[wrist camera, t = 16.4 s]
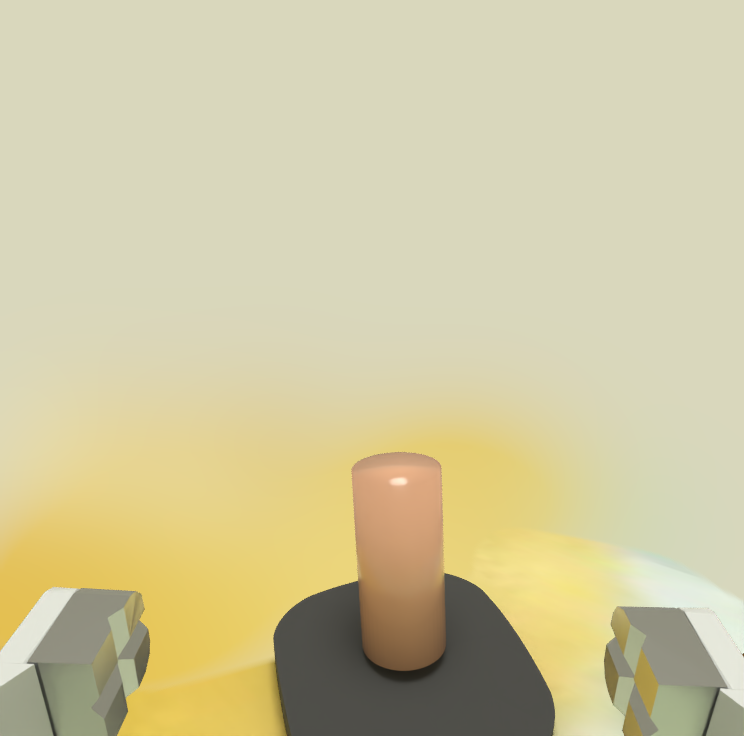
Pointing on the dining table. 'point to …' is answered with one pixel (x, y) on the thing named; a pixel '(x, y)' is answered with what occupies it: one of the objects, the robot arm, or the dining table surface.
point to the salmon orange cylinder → (400, 559)
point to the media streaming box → (408, 674)
